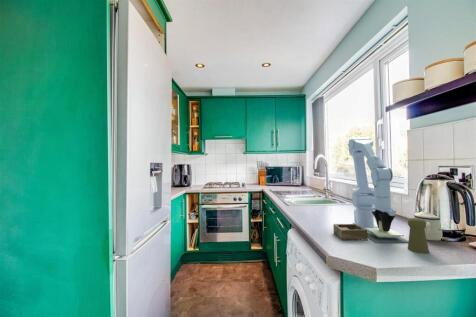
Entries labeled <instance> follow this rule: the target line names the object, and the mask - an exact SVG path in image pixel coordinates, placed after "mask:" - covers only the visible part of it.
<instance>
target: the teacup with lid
mask: <svg viewBox="0 0 476 317" xmlns="http://www.w3.org/2000/svg"><path fill="white" fill-rule="evenodd" d="M423 211H424V210H422V211H420V212H415V213H414V215H413V216H414V217H413V218H419V219H423V220H424V221H425V222H426V228H425V234H426V239H427V241H436V242H437V241H442V240H441V237H442V236H443V229H442V230H441V223H440V217H438V216H435V215H433V214H431V213H429V212H423Z"/></svg>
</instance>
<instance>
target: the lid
mask: <svg viewBox="0 0 476 317" xmlns="http://www.w3.org/2000/svg"><path fill="white" fill-rule="evenodd" d="M364 229H366V230H367V232H368V233H372V234H374V235H376V236H377V237H388V238H399V237H401V238H403V237H405V234H402V233H401V232H398V231H396V230H394V229H391V228H390V230H389V231H383V228H382V222H381V221H379V228H364Z"/></svg>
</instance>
